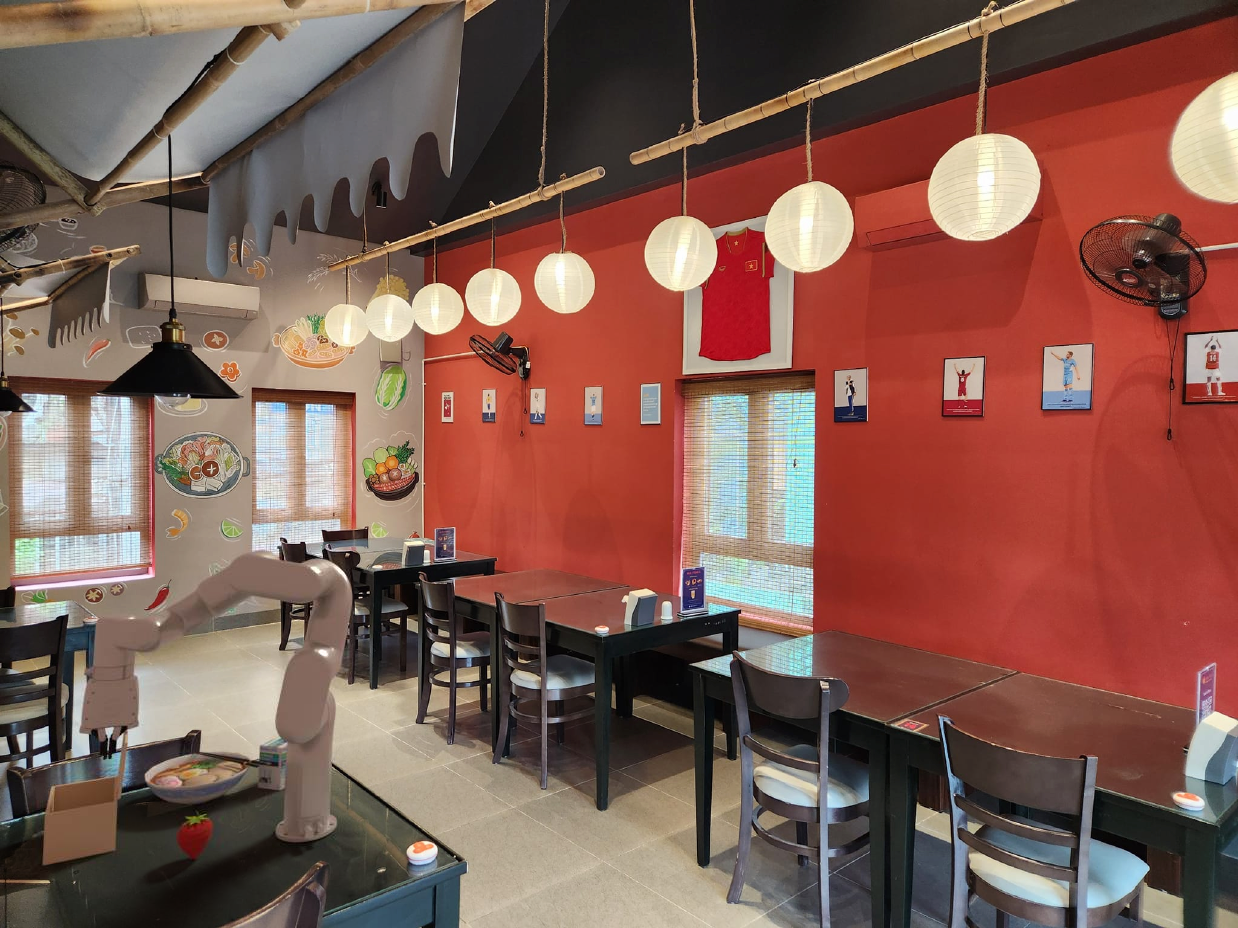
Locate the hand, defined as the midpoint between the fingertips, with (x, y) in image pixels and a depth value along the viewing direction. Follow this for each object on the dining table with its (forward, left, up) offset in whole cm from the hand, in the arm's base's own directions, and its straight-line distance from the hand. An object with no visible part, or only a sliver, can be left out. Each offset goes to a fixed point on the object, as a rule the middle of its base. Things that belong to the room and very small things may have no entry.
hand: (107, 757), depth 162 cm
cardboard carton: (0, +4, -17) cm, 17 cm away
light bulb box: (+13, -38, -17) cm, 43 cm away
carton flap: (0, -3, -1) cm, 3 cm away
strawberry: (-20, -16, -17) cm, 31 cm away
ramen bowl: (+12, -19, -17) cm, 28 cm away
